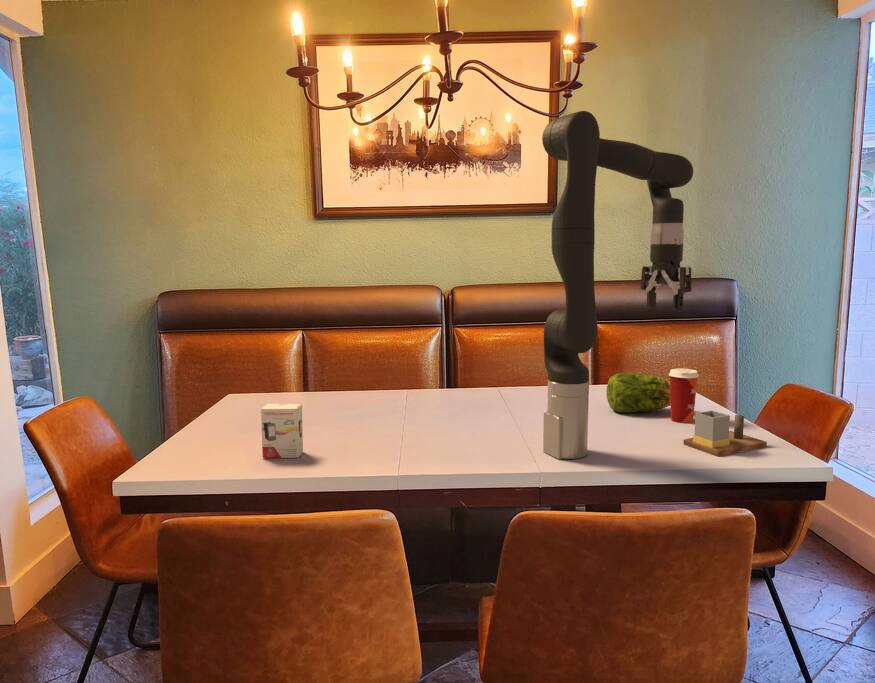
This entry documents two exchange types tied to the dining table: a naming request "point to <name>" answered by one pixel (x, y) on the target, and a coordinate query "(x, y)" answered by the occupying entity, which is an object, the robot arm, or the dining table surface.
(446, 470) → the dining table surface
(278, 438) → the ink box
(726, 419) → the sleeve
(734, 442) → the pin board
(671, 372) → the paper cup
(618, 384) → the lettuce
